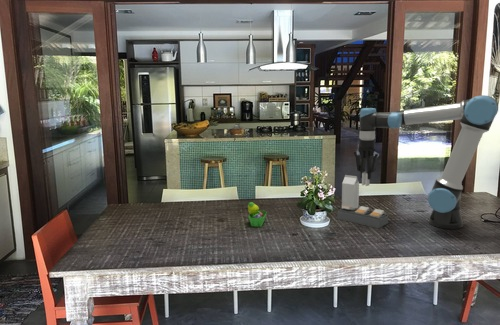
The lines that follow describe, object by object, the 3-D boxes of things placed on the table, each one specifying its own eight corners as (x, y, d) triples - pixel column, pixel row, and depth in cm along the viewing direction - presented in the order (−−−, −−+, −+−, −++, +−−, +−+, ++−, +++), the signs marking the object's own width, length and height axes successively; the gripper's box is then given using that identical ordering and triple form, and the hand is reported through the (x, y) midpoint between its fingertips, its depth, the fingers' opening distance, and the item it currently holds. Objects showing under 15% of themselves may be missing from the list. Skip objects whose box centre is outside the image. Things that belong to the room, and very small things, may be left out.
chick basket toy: (263, 227, 199) (263, 205, 197) (245, 226, 201) (245, 205, 199) (267, 220, 210) (266, 199, 208) (250, 219, 212) (250, 199, 210)
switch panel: (387, 223, 202) (388, 213, 201) (378, 228, 195) (379, 218, 194) (347, 214, 218) (347, 205, 217) (337, 218, 211) (337, 209, 210)
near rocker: (384, 212, 201) (383, 210, 200) (378, 218, 196) (378, 216, 196) (375, 210, 204) (375, 208, 203) (369, 216, 199) (369, 214, 199)
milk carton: (353, 210, 225) (354, 177, 222) (341, 208, 229) (342, 176, 226) (358, 207, 230) (359, 175, 227) (346, 205, 235) (347, 174, 231)
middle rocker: (369, 209, 206) (369, 207, 206) (363, 215, 202) (363, 213, 201) (361, 208, 209) (361, 205, 209) (355, 213, 205) (355, 211, 204)
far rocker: (355, 209, 212) (355, 207, 212) (349, 209, 207) (349, 206, 207) (347, 208, 215) (348, 205, 215) (341, 207, 210) (342, 205, 210)
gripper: (384, 139, 199) (382, 185, 203) (357, 137, 209) (356, 182, 213) (377, 140, 194) (375, 188, 197) (350, 139, 203) (349, 184, 207)
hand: (365, 185), depth 205 cm, fingers closed
